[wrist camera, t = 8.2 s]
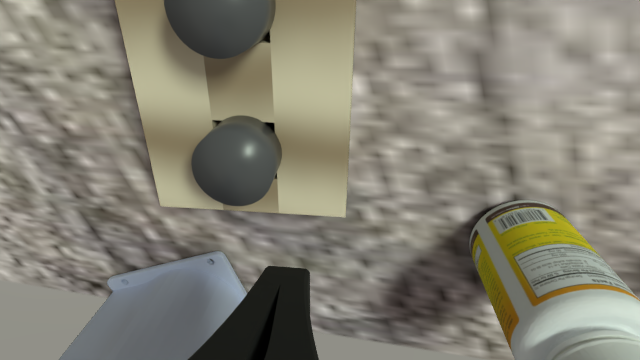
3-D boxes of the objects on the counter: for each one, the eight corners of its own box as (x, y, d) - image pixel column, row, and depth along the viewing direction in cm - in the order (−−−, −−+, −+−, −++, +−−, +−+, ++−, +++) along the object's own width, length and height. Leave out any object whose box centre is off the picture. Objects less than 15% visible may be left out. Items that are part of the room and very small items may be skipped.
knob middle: (289, 41, 18) (266, 60, 14) (218, 39, 19) (172, 57, 14) (287, -44, 17) (259, -54, 12) (209, -44, 17) (154, -54, 12)
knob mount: (347, 189, 22) (345, 217, 19) (183, 180, 23) (160, 206, 20) (371, -322, 13) (375, -401, 10) (94, -307, 14) (30, -377, 11)
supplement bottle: (514, 284, 24) (606, 462, 15) (447, 243, 23) (503, 407, 14) (587, 226, 22) (748, 397, 13) (515, 177, 21) (635, 326, 12)
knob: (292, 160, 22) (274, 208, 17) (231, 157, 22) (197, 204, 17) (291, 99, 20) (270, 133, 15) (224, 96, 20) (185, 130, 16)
